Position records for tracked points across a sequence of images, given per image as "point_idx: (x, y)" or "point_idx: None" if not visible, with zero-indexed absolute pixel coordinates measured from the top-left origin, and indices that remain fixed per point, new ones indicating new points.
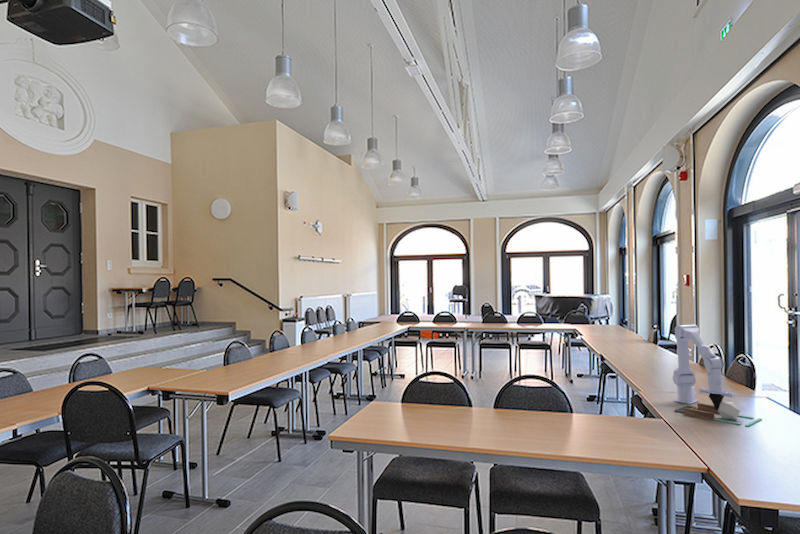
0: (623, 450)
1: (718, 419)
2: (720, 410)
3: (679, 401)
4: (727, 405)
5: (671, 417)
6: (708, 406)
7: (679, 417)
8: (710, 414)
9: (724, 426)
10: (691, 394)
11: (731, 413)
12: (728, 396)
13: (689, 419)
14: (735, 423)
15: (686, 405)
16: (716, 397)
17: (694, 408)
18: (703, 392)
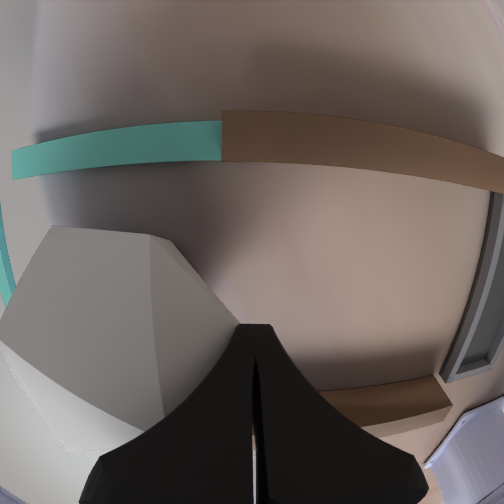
0: None
1: (173, 136)
2: (139, 233)
3: (500, 400)
4: (17, 313)
5: (491, 23)
6: (376, 416)
7: (471, 42)
8: (258, 114)
9: (83, 19)
10: (468, 466)
11: (40, 245)
12: (3, 490)
13: (401, 13)
14: (35, 145)
15: (492, 362)
16: (157, 485)
17: (456, 352)
18: (499, 493)
